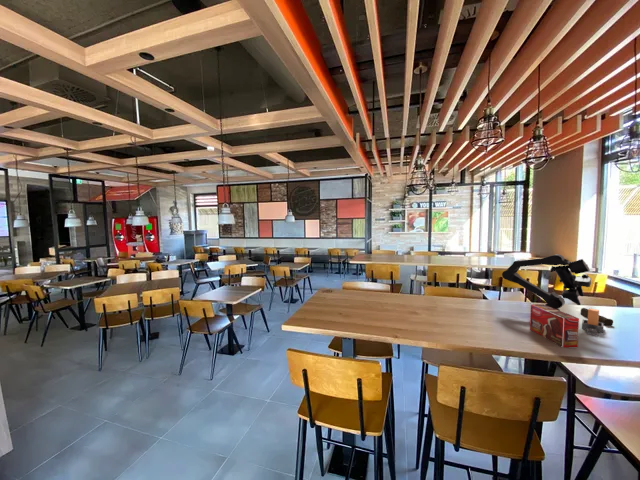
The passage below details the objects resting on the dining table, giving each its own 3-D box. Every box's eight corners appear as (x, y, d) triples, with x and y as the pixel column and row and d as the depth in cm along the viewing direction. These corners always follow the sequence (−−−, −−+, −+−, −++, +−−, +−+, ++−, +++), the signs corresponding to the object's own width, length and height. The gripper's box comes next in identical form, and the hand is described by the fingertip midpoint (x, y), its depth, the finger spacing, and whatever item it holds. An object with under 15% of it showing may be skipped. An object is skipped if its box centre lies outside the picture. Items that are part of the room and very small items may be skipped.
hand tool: (613, 326, 140) (614, 318, 140) (604, 326, 141) (605, 317, 141) (586, 314, 159) (586, 307, 159) (578, 314, 160) (578, 306, 159)
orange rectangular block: (597, 330, 135) (598, 311, 134) (587, 328, 138) (588, 309, 137) (597, 328, 137) (599, 310, 137) (588, 326, 140) (589, 308, 139)
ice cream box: (529, 329, 137) (530, 304, 137) (542, 329, 137) (543, 304, 136) (562, 347, 117) (563, 318, 117) (577, 347, 117) (579, 318, 116)
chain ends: (603, 337, 127) (603, 331, 127) (581, 332, 133) (581, 326, 133) (602, 324, 142) (602, 319, 142) (582, 321, 148) (583, 316, 147)
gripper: (581, 281, 134) (598, 308, 133) (587, 264, 144) (603, 289, 144) (554, 285, 143) (570, 310, 143) (562, 269, 153) (577, 292, 153)
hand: (581, 300), depth 145 cm, fingers open, 9 cm apart
